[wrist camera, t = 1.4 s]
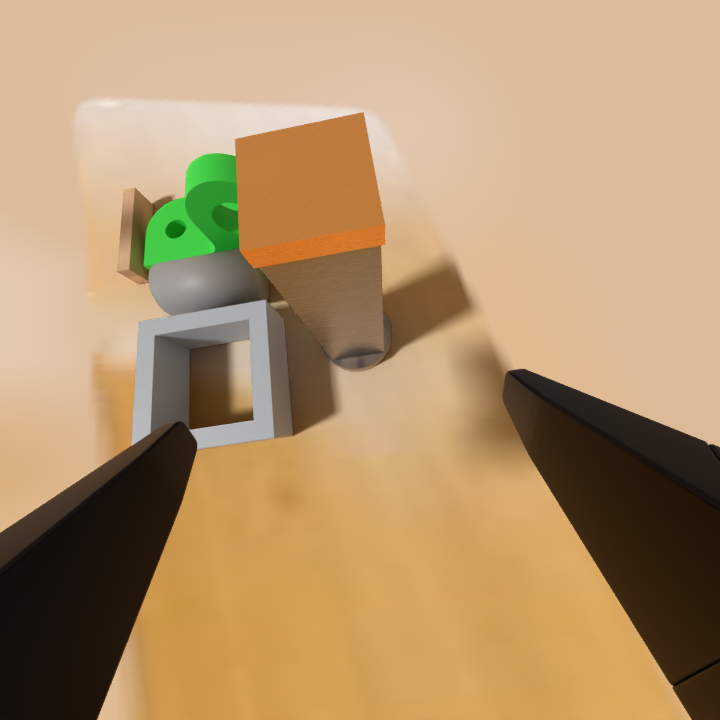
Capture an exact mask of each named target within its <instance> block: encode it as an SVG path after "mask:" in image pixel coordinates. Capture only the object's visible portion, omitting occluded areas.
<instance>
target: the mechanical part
mask: <svg viewBox="0 0 720 720" xmlns="http://www.w3.org/2000/svg"><path fill="white" fill-rule="evenodd" d="M237 248H239V223H238V197H237V171H236V157H235V156H232V155H227V154H218V153H216V154H207V155H203V156H201V157H199V158H197V159H195V160H194V161H193V162H192V163H191V164H190V166H189V167H188V169H187V172H186V188H185V198H180V199H176V200H173V201H171V202H169V203H167V204H165V205H164V206H162V207H161V208H160V209H159V210H158V211H157V212H156V213H155V214H154V215H153V217H152V218H151V220H150V222H149V224H148V226H147V230H146V239H145V254H144V267H145V268H147V269H148V270H150V269H151V267H152V266H153V265H154V264H156V263H161V262H167V261H172V260H178V259H183V258H188V257H194V256H199V255H205V254H210V253H215V252H221V251H226V250H232V249H237Z"/></svg>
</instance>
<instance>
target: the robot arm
mask: <svg viewBox="0 0 720 720" xmlns="http://www.w3.org/2000/svg"><path fill="white" fill-rule="evenodd" d="M503 401H504V404H505V406H506V409H507V411H508V413H509V415H510V417H511V419H512V421H513V423H514V425H515V428H516V430H517V432H518V434H519V436H520V438H521V440H522V442H523V444H524V446H525V448H526V450H527V452H528V454H529V456H530V458H531V459H532V461H533V463H534V464H535V466H536V468H537V469H538V471H539V472H540V474H541V476H542V477H543V479H544V481H545V482H546V484H547V485H548V487H549V489H550V490H551V492H552V494H553V495H554V497H555V498H556V500H557V502H558V503H559V505H560V506H561V508H562V510H563V511H564V513H565V515H566V516H567V518H568V519H569V521H570V523H571V524H572V526H573V528H574V529H575V531H576V532H577V534H578V536H579V537H580V539H581V540H582V542H583V544H584V545H585V547H586V549H587V550H588V552H589V553H590V555H591V557H592V558H593V560H594V562H595V563H596V565H597V566H598V568H599V570H600V571H601V573H602V574H603V576H604V578H605V579H606V581H607V583H608V584H609V586H610V587H611V589H612V591H613V592H614V594H615V596H616V597H617V599H618V600H619V602H620V604H621V605H622V607H623V608H624V610H625V612H626V613H627V615H628V617H629V618H630V620H631V621H632V623H633V625H634V626H635V628H636V629H637V631H638V633H639V634H640V636H641V638H642V639H643V641H644V642H645V644H646V646H647V647H648V649H649V651H650V652H651V654H652V655H653V657H654V659H655V660H656V662H657V663H658V665H659V667H660V668H661V670H662V672H663V673H664V675H665V676H666V678H667V680H668V681H669V683H670V684H671V685H673V690H674V692H675V693H676V695H677V696H678V698H679V700H680V701H681V703H682V705H683V706H684V708H685V709H686V711H687V713H688V714H689V716H690V717H691V719H692V720H720V447H718V446H716V445H713V444H710V445H708V444H707V443H706V442H705V441H703V440H700V439H698V438H695V437H692V436H690V435H688V434H685V433H683V432H680V431H678V430H675V429H673V428H670V427H668V426H665V425H662V424H660V423H658V422H655V421H653V420H650V419H648V418H645V417H643V416H640V415H638V414H635V413H633V412H630V411H628V410H625V409H623V408H620V407H618V406H616V405H613V404H610V403H608V402H606V401H603V400H600V399H598V398H595V397H593V396H591V395H588V394H585V393H583V392H581V391H578V390H576V389H573V388H571V387H568V386H565V385H563V384H560V383H558V382H556V381H553V380H551V379H548V378H546V377H543V376H540V375H538V374H536V373H533V372H530V371H528V370H526V369H518V370H511V371H508V372H507V373H506V375H505V381H504V389H503ZM197 446H198V445H197V441H196V439H195V437H194V436H193V434H192V433H191V431H190V430H189V429H188V427H187V426H186V424H185V423H184V422H182V421H176V422H169V423H166V424H164V425H162V426H161V427H159V428H158V429H156V430H155V431H153V432H152V433H150V434H149V435H147V436H146V437H144V438H143V439H141V440H140V441H138V442H136V443H135V444H133V445H132V446H130V447H129V448H127V449H126V450H124V451H123V452H121V453H120V454H118V455H117V456H115V457H114V458H112V459H111V460H109V461H108V462H106V463H105V464H103V465H102V466H100V467H99V468H97V469H96V470H94V471H93V472H91V473H90V474H88V475H87V476H85V477H84V478H82V479H81V480H79V481H78V482H76V483H75V484H73V485H72V486H70V487H69V488H67V489H66V490H64V491H63V492H61V493H60V494H58V495H57V496H55V497H54V498H52V499H51V500H49V501H48V502H46V503H45V504H43V505H42V506H40V507H39V508H37V509H35V510H34V511H33V512H31V513H30V514H28V515H27V516H25V517H24V518H22V519H20V520H19V521H18V522H16V523H15V524H13V525H12V526H10V527H8V528H7V529H5V530H4V531H2V532H1V533H0V720H97V719H98V716H99V714H100V711H101V708H102V706H103V703H104V701H105V698H106V696H107V693H108V691H109V688H110V685H111V683H112V680H113V678H114V675H115V673H116V670H117V667H118V665H119V662H120V660H121V657H122V655H123V652H124V650H125V647H126V644H127V642H128V639H129V637H130V634H131V632H132V629H133V626H134V624H135V621H136V619H137V616H138V614H139V611H140V609H141V606H142V603H143V601H144V598H145V596H146V593H147V591H148V588H149V586H150V583H151V580H152V578H153V575H154V573H155V570H156V568H157V565H158V562H159V560H160V557H161V555H162V552H163V550H164V547H165V545H166V542H167V539H168V537H169V534H170V532H171V529H172V527H173V524H174V521H175V519H176V516H177V514H178V511H179V509H180V506H181V503H182V500H183V497H184V494H185V490H186V487H187V483H188V480H189V476H190V473H191V469H192V466H193V462H194V459H195V455H196V452H197Z"/></svg>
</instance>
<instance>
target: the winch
mask: <svg viewBox="0 0 720 720" xmlns="http://www.w3.org/2000/svg"><path fill="white" fill-rule="evenodd" d="M148 278H149V286H150V290H151V293H152V295H153V297H154V299H155V301H156V302H157V304H158V305H159V306H160V307H161V308H162V309H163V310H164V311H165V312H166V313H168V314H170V315H172V316H169V317H163V318H157V319H151V320H146V321H140V322H139V326H138V343H137V361H136V378H135V395H134V412H133V429H132V445H133V444H135V443H136V442H138V441H140V440H141V439H143V438H144V437H146V436H147V435H149V434H150V433H152V432H153V431H155V430H156V429H158V428H159V427H161V426H162V425H164V424H166V423H169V422H176V421H182V422H184V423H185V424H186V426H187V427H188V429H189V400H190V349H195V348H201V347H207V346H213V345H219V344H225V343H231V342H237V341H243V340H249V339H250V351H251V373H252V395H253V417H254V420H252V421H245V422H238V423H232V424H225V425H218V426H212V427H205V428H198V429H192V430H190V431H191V433H192V434H193V436H194V437H195V439H196V441H197V445H198V446H197V450H200V449H207V448H213V447H220V446H227V445H234V444H241V443H248V442H255V441H262V440H268V439H275V438H282V437H289V436H293V426H292V414H291V401H290V388H289V376H288V363H287V350H286V338H285V325H284V319H283V318H282V317H281V315H280V314H279V313H278V312H277V311H276V310H275V309H274V308H273V307H272V306H271V305H270V304H269V303H268V302H267V300H268V298H269V293H270V287H269V280H268V278H267V277H266V275H265V274H264V273H263V272H262V270H261V269H260V268H253V267H252V266H251V264H250V263H249V262H248V261H247V260H246V258H245V257H244V256H243V255H242V254H241V252H240V248H237V249H232V250H226V251H221V252H215V253H210V254H205V255H199V256H194V257H188V258H183V259H178V260H172V261H167V262H161V263H156V264H154V265H153V266H152V267H151V269H150V271H149V277H148Z"/></svg>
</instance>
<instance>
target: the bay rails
mask: <svg viewBox="0 0 720 720" xmlns="http://www.w3.org/2000/svg"><path fill="white" fill-rule="evenodd" d="M153 207H154V205H152V204H151V203H150V202H149V201H148V200H147V199H146V198H145V197H144V196H143V195H142V194H141V193H140V192H139V191H138V190H137V189H136V188H131V189H126V190H124V195H123V207H122V219H121V231H120V243H119V255H118V267H117V272H119V273H120V274H122V275H124V276H126V277H127V278H129V279H131V280H133V281H134V282H136V283H138V284H142V283H148V282H149V278H148V277H149V271H150V270H148V269H147V268H145V267H144V254H145V239H146V230H147V226H148V224H149V222H150V220H151V218H152V217H153Z"/></svg>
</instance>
